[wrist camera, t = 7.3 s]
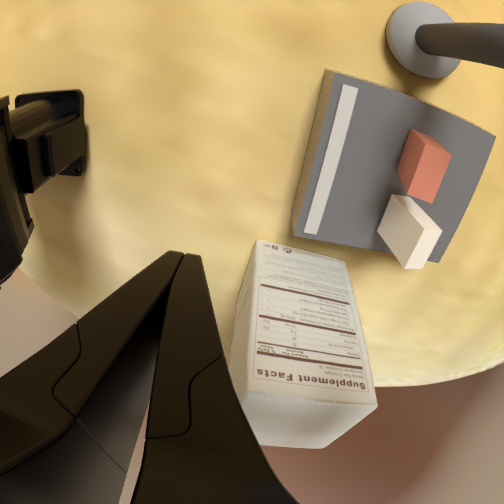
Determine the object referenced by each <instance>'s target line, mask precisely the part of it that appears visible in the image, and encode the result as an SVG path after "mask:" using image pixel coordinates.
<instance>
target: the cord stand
mask: <svg viewBox="0 0 504 504" xmlns="http://www.w3.org/2000/svg"><path fill="white" fill-rule="evenodd" d="M386 38H387V43H388V46H389V48H390V51H391V52H392V54H393V56H394V57H395V59H396V60H397V61H398V62H399V63H400V64H401V65H402V66H403V67H404V68H405V69H407V70H408V71H410V72H412V73H414V74H416V75H420V76H423V77H427V78H442V77H445V76H447V75H449V74H451V73H452V72H453V71H454V70H455V69H456V68H457V66H458V65H459V63H460V60H467V61H472V62H477V63H482V64H486V65H491V66H495V67H499V68H503V69H504V24H494V23H455V22H454V21H453V20H452V18H451V17H450V16H449V15H448V14H447V13H446V12H445V11H443V10H442V9H441V8H439V7H437V6H435V5H433V4H431V3H427V2H412V3H408V4H404V5H401V6H400V7H398V8H396V9H395V10H394V11H393V12H392V13H391V15H390V17H389V19H388V21H387V25H386Z"/></svg>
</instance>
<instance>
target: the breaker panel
mask: <svg viewBox="0 0 504 504" xmlns="http://www.w3.org/2000/svg"><path fill="white" fill-rule="evenodd" d="M410 128H411V129H414V130H416V131H419V132H421V133H424V134H426V135H429V136H431V137H433V138H434V139H435V140H436V141H437V142H439V143H440V144H441V145H442V146H443V147H444V148H445V149H446V150H447V151H448V152H449V153H450V154H451V155H452V156H451V158H450V161H449V164H448V166H447V169H446V172H445V174H444V177H443V179H442V182H441V184H440V186H439V189H438V191H437V194H436V196H435V198H434V201H433V203H432V204H431V203H429V202H426V201H424V200H421V199H418V198H416V197H413V196H410V195H408V194H407V193H406V191H405V188H404V186H403V184H402V181H401V179H400V177H399V174H398V172H397V167H398V164H399V161H400V158H401V156H402V153H403V150H404V147H405V144H406V141H407V138H408V134H409V131H410ZM495 138H496V136H494V135H492V134H491V133H489V132H487V131H486V130H484V129H482V128H480V127H479V126H477V125H475V124H473V123H471V122H469V121H467V120H465V119H463V118H461V117H459V116H457V115H455V114H453V113H451V112H448V111H446V110H444V109H442V108H440V107H437V106H435V105H433V104H430V103H428V102H425V101H423V100H421V99H418V98H416V97H413V96H410V95H408V94H405V93H402V92H400V91H397V90H394V89H391V88H389V87H386V86H383V85H380V84H377V83H374V82H370V81H367V80H364V79H361V78H357V77H354V76H351V75H347V74H343V73H340V72H336V71H332V70H328V69H325V74H324V78H323V83H322V87H321V92H320V96H319V101H318V105H317V109H316V114H315V118H314V122H313V126H312V131H311V135H310V139H309V143H308V147H307V151H306V156H305V160H304V164H303V168H302V172H301V176H300V180H299V184H298V188H297V192H296V196H295V200H294V204H293V208H292V224H293V235H294V236H297V237H302V238H308V239H314V240H319V241H325V242H331V243H336V244H342V245H347V246H353V247H358V248H363V249H369V250H374V251H379V252H385V253H390V254H393V252H392V251H391V250H390V248H389V247H388V245H387V244H386V243H385V241H384V240H383V239H382V237H381V236H380V234H379V233H378V232H377V230H378V228H379V225H380V223H381V220H382V218H383V216H384V213H385V211H386V208H387V206H388V203H389V201H390V198H391V195H392V194H395V195H401V196H407V197H410V198H411V199H412V200H413V201H414V202H415V203H416V204H417V205H418V206H419V207H420V208H421V209H422V210H423V211H424V212H425V213H426V214H427V215H428V216H429V217H430V218H431V219H432V220H433V221H434V222H435V223H436V225H437V226H438V227H439V228H440V229H441V230H442V233H441V235H440V236H439V238H438V240H437V242H436V244H435V246H434V248H433V250H432V252H431V254H430V256H429V257H428V259H427V261H431V262H436V263H439V261H440V260H441V258H442V256H443V254H444V252H445V250H446V249H447V247H448V245H449V243H450V241H451V239H452V237H453V235H454V233H455V232H456V230H457V228H458V226H459V224H460V222H461V220H462V217H463V215H464V213H465V211H466V209H467V207H468V205H469V203H470V200H471V198H472V196H473V194H474V192H475V189H476V187H477V185H478V182H479V180H480V177H481V175H482V173H483V170H484V168H485V165H486V163H487V160H488V157H489V155H490V152H491V149H492V147H493V144H494V141H495Z"/></svg>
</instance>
